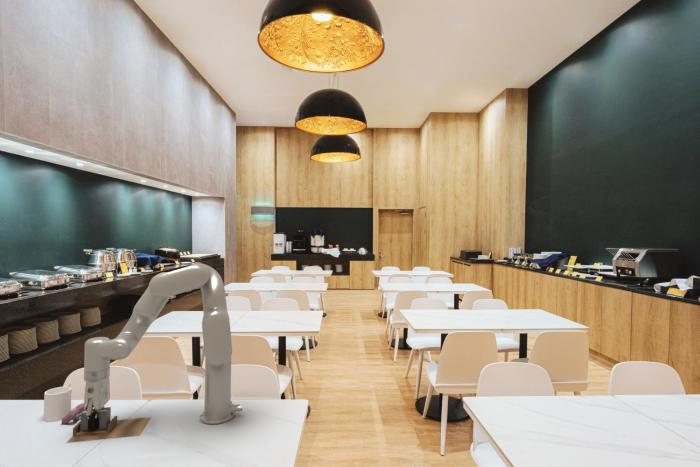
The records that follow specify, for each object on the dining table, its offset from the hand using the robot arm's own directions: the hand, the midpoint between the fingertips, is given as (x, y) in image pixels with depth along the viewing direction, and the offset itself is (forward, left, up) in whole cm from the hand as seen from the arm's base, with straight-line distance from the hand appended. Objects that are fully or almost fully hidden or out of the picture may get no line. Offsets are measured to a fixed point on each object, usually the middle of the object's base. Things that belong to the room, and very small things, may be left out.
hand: (95, 426), depth 133 cm
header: (-5, 0, -3) cm, 6 cm away
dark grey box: (0, 0, -1) cm, 1 cm away
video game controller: (+11, -14, -3) cm, 18 cm away
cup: (+19, -19, -3) cm, 27 cm away
